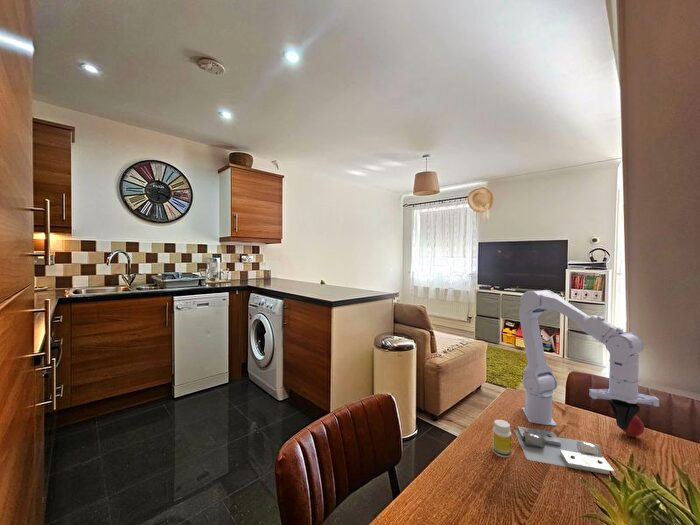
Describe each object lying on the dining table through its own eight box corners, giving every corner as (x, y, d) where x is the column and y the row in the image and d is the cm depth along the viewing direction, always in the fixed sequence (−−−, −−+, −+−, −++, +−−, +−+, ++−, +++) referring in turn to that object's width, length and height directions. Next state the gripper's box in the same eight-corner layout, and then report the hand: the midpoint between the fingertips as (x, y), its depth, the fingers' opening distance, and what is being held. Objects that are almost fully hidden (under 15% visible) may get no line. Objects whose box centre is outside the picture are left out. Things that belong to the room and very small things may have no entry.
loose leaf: (555, 446, 85) (555, 435, 85) (596, 452, 83) (596, 441, 82) (568, 467, 77) (568, 455, 77) (614, 475, 74) (615, 463, 74)
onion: (632, 431, 93) (633, 406, 93) (649, 442, 88) (650, 416, 87) (613, 430, 94) (613, 405, 94) (628, 441, 88) (629, 415, 88)
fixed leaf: (515, 429, 94) (515, 419, 94) (553, 435, 91) (553, 425, 90) (523, 447, 85) (523, 436, 85) (565, 454, 82) (566, 443, 82)
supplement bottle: (513, 459, 80) (514, 429, 80) (495, 456, 81) (495, 427, 81) (507, 448, 85) (508, 419, 85) (490, 445, 86) (490, 417, 86)
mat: (514, 430, 93) (514, 430, 93) (588, 442, 88) (588, 442, 88) (527, 460, 80) (527, 459, 80) (616, 476, 74) (616, 475, 74)
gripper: (599, 380, 77) (597, 431, 78) (668, 387, 73) (667, 441, 73) (586, 370, 84) (584, 417, 84) (649, 376, 80) (647, 425, 80)
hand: (622, 427), depth 79 cm, fingers closed
